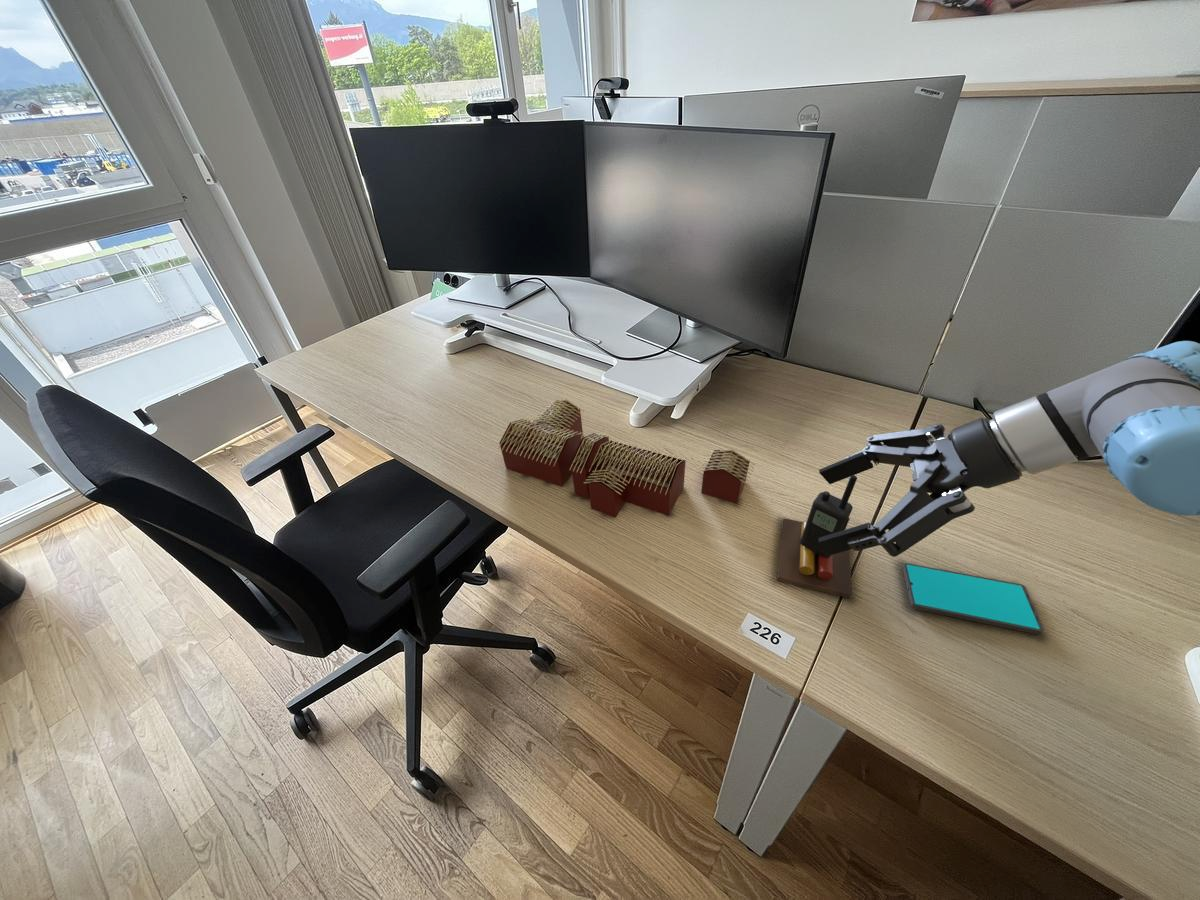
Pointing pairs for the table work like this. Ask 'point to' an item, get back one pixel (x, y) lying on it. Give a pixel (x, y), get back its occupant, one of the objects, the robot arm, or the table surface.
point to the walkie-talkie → (827, 518)
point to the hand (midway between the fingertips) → (824, 509)
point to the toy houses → (611, 464)
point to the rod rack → (811, 564)
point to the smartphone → (971, 598)
